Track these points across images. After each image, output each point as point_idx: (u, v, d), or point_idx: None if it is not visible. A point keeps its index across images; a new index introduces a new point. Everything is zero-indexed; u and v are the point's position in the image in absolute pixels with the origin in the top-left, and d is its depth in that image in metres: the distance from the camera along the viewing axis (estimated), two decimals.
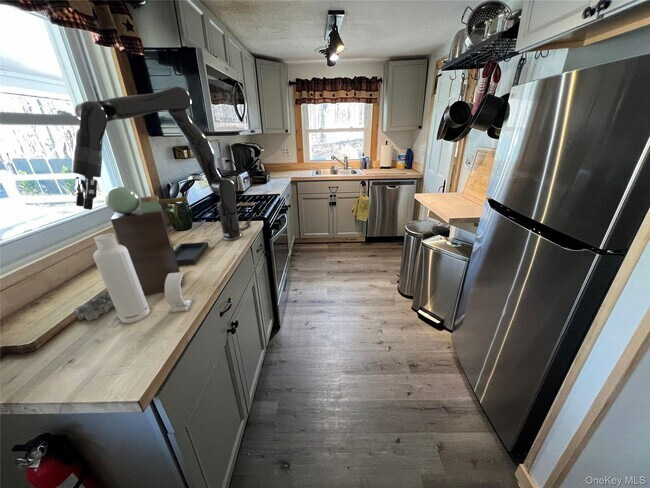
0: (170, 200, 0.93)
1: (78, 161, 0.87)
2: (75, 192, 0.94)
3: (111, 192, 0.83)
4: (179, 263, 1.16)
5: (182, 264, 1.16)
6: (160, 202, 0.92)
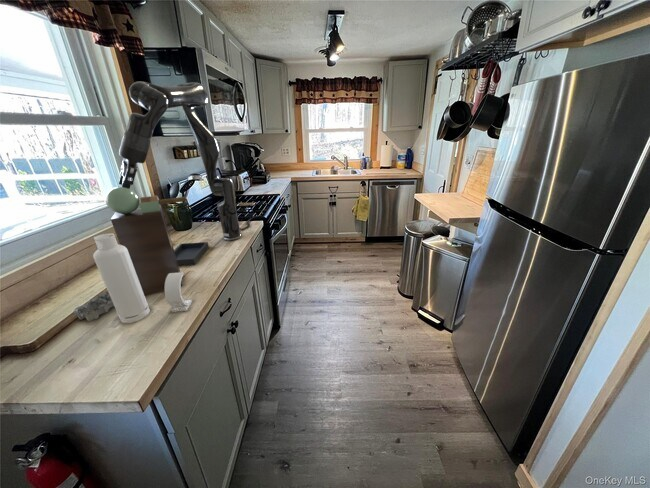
0: (170, 200, 0.93)
1: (125, 146, 0.85)
2: (121, 170, 0.94)
3: (111, 192, 0.83)
4: (179, 263, 1.16)
5: (182, 264, 1.16)
6: (160, 202, 0.92)
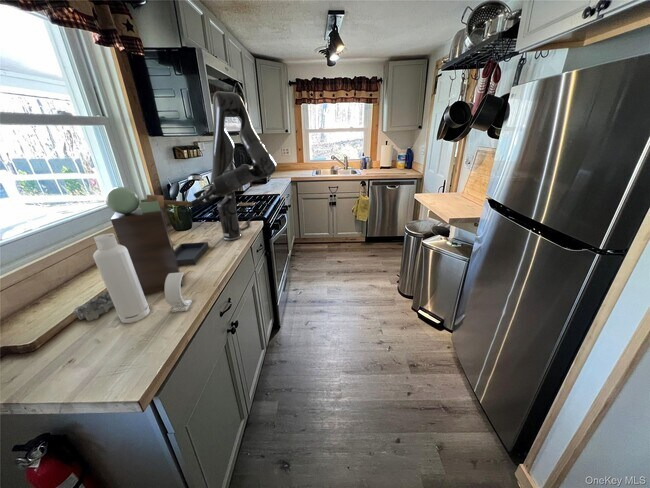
0: (175, 203, 0.94)
1: (222, 179, 0.99)
2: None
3: (111, 192, 0.83)
4: (179, 263, 1.16)
5: (182, 264, 1.16)
6: (165, 203, 0.92)
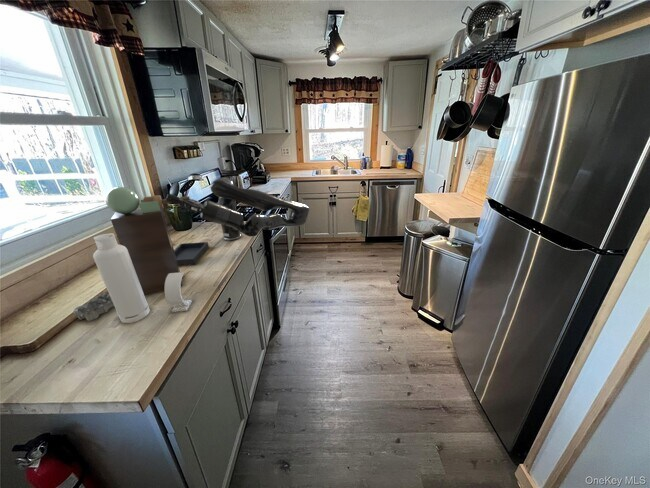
0: None
1: (217, 207, 1.00)
2: None
3: (111, 192, 0.83)
4: (179, 263, 1.16)
5: (182, 264, 1.16)
6: (163, 202, 0.92)
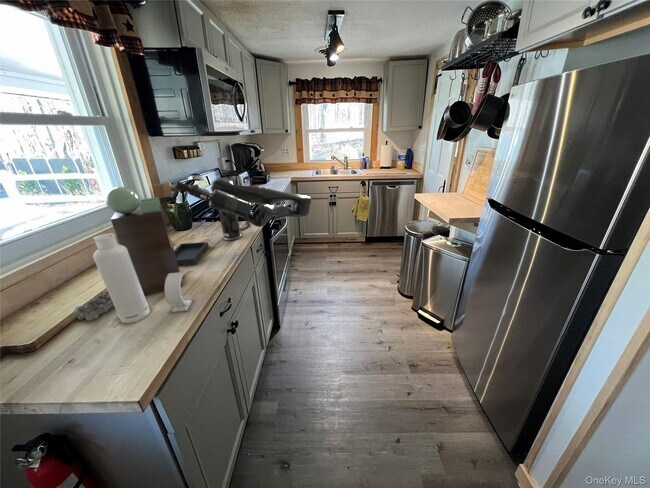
0: None
1: (226, 195, 1.00)
2: None
3: (111, 192, 0.83)
4: (179, 263, 1.16)
5: (182, 264, 1.16)
6: (172, 190, 0.92)
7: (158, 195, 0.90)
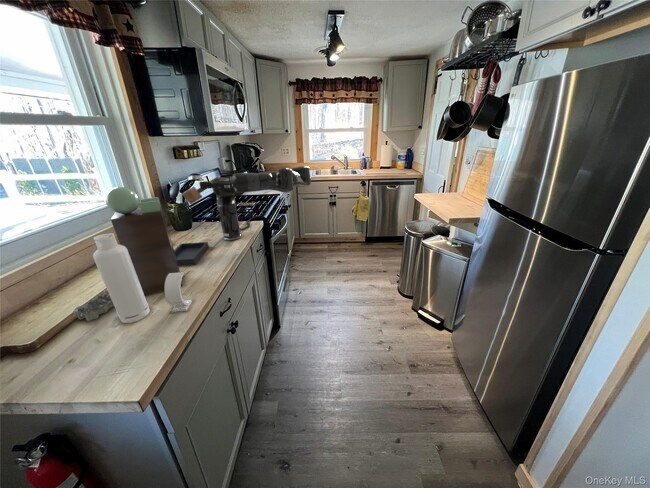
0: None
1: (245, 176, 1.02)
2: None
3: (111, 192, 0.83)
4: (179, 263, 1.16)
5: (182, 264, 1.16)
6: (199, 191, 0.97)
7: (190, 201, 0.95)
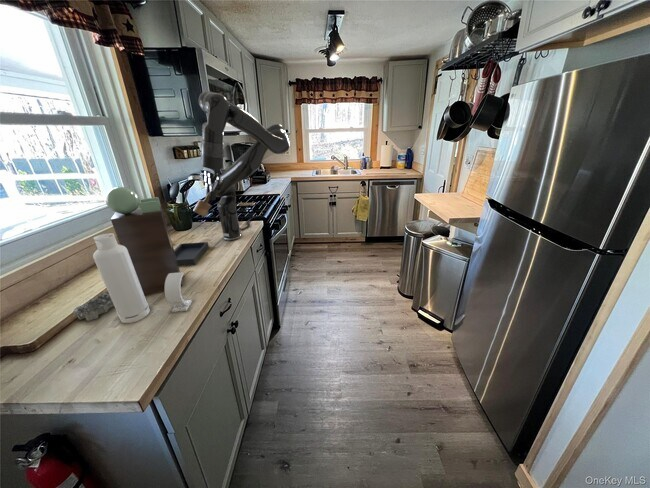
0: None
1: None
2: None
3: (111, 192, 0.83)
4: (179, 263, 1.16)
5: (182, 264, 1.16)
6: None
7: None
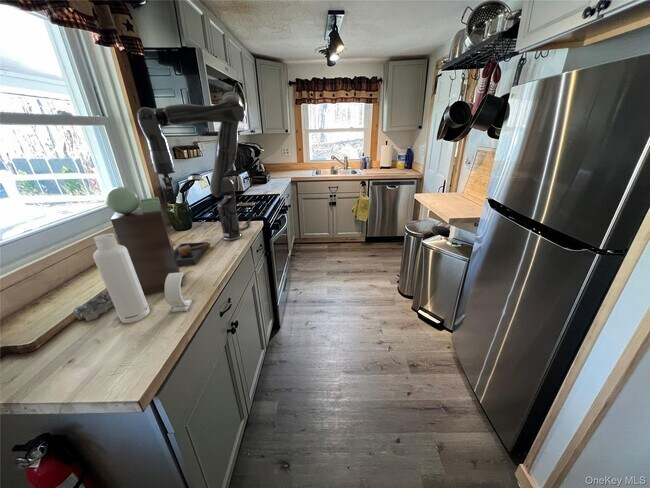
0: None
1: None
2: None
3: (111, 192, 0.83)
4: (179, 263, 1.16)
5: (182, 264, 1.16)
6: None
7: None
